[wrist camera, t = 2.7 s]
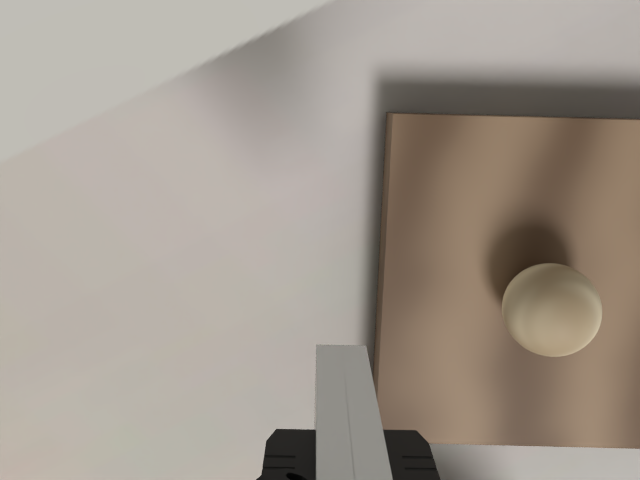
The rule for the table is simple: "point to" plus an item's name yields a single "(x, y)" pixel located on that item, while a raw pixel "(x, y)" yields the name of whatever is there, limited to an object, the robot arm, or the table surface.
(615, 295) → the brown wooden flat board
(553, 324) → the ball
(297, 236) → the table surface
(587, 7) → the table surface
